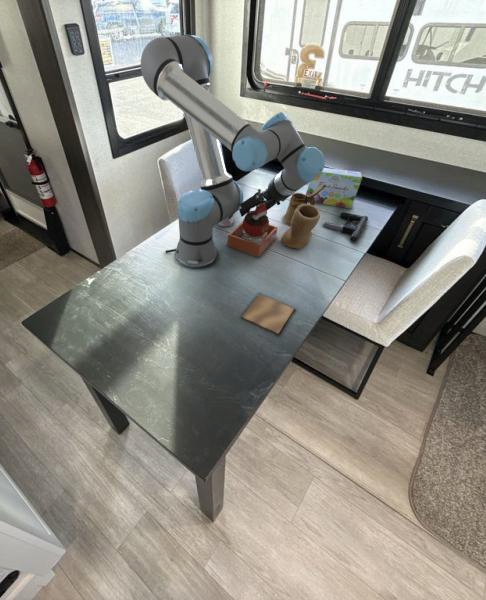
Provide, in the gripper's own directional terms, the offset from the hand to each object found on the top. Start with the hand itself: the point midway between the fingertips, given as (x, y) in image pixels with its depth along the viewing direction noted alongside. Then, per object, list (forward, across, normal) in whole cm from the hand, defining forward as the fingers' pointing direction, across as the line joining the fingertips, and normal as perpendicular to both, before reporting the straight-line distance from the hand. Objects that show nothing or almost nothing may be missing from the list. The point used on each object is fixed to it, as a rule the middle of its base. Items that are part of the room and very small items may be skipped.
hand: (253, 210), depth 117 cm
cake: (+4, 0, -8) cm, 9 cm away
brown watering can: (+12, +26, -7) cm, 29 cm away
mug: (+20, -3, +3) cm, 21 cm away
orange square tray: (+8, -1, -10) cm, 13 cm away
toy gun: (+4, +41, -16) cm, 44 cm away
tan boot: (+3, +17, -16) cm, 23 cm away
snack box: (+18, +49, -1) cm, 52 cm away
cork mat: (-17, -16, -36) cm, 43 cm away
